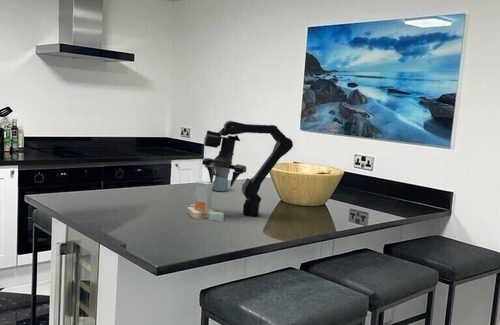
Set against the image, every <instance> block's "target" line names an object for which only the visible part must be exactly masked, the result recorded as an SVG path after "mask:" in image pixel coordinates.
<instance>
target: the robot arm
mask: <svg viewBox="0 0 500 325" xmlns="http://www.w3.org/2000/svg"><path fill="white" fill-rule="evenodd" d="M246 133H247V134H248V133H249V134H268V135H271V137H272V139H273V140H274V141H275V144H274V147H273V149H272V151H271V153H270V155H269V156H268V157H267V159H265V161H264V163H263V164H262V166H260V168H259V169H258V170H257V172H256V173H255V174H254V176H252V177H251V178H248V177H247V178H246V179H245V181H244V182H243V183H242V184H241V190H240V191H241V193H242V195H243V196H244V197H245V200H244V203H243V209H242V213H243V216H250V217H258V216H260V206H261V201H262V198H261V197H260V195H259V193H258V192H259V191H260V188H261V185H262V183H263V181H264V180H265V179H266V177H267V176H268V175H269V174H270V173H271V171H272V170H273V168H274V167H275V165H277V163H278V162H279V160H280V159H281V158H282V157H284V156H285V155H286V154H288V153H289V151H291V150H292V149H293V148H294V144H293V140H292V139H291V138H289V137H286V135H285V134H284V133H283V132H282V131H281V130H280V129H279V127H278V126H276V125H274V124H250V123H248V124H247V123H243V122H238V121H233V120H227V121H226V122H225V123H224V124H223V128H221V129H220V130H219V132H217V131H211V130H206V134H205V136H204V141H203V146H204V147H208V148H214V149H217V148H218V147H220V150H219V152H218V155H216V157H214V158H210V157H207V158H206V157H205V158H203V159H202V166H204V168H206V169H207V171H208V174H209V175H208V176H209V180H210V181H209V182H210V183H213V182H214V181H213V180H214V177H215V175H214V170H215V167H221V168H229V169H230V170H233V171H232V176H231V181H230V188H232V187H233V186H234V184H235V182H236V181H237V179H238V177H239V176H240V175H243V174H244V173H247V166H246V165H243V164H235V165H234V164H233V157H234V153H235V145H236V142H241V139H240V137H239V135H241V134H246ZM213 165H214V166H213ZM228 166H229V167H228Z"/></svg>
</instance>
